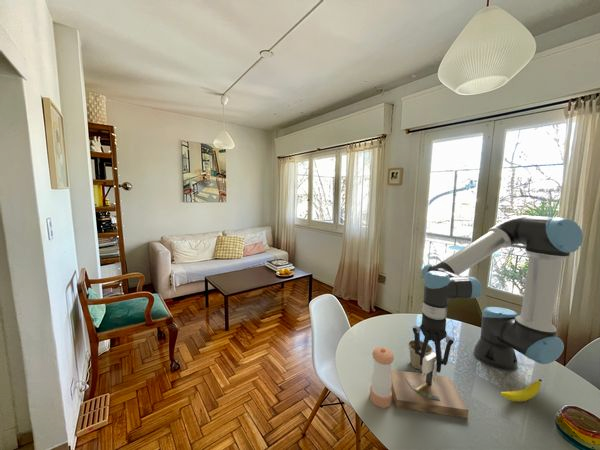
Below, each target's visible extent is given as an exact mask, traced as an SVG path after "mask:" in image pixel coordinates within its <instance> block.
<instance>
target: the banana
mask: <svg viewBox="0 0 600 450" xmlns="http://www.w3.org/2000/svg"><path fill="white" fill-rule="evenodd" d="M542 381H543V380H542V379H541V378H539V379H538V380H537V381H534V382H531V384H529V386H527V387H526V388H523V389H519V390H512V391H500V394H501V396H502V397H503V398H504V399H506V400H509V401H512V402H517V403H518V402H520V403H521V402H526V401H529V400H531V399H533V398H534V397H535V396H536V395H537V394H538V393H539V392H540V389H541V386H542V383H541V382H542Z"/></svg>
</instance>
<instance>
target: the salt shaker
mask: <svg viewBox="0 0 600 450" xmlns="http://www.w3.org/2000/svg"><path fill="white" fill-rule="evenodd" d="M372 358H373V360H374V363H373V370H372V371H373V372H372V375H371V384H370V387H369V391H370V392H369V400H370V401H371V403H372V404H373V405H375V406H376V407H379V408H382V409H386V408H389V407H390V406H392V403H393V402H392V401H393V399H392V398H393V392H392V388H391V385H392V382H391V370H392V364H393V362H394V359H395V357H394V354H393V352H392V351H391V350H390V349H388V348H387V347H382V346H379V347H375V348H374V349H373V351H372Z"/></svg>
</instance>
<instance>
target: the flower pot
mask: <svg viewBox="0 0 600 450" xmlns="http://www.w3.org/2000/svg"><path fill="white" fill-rule="evenodd" d="M423 342H424V340H420V350H422V346H423ZM407 346H408V349H409V357H410V360H409V361H410V364H411V366H412V367H413V368H415V369H417V370H421V371H422V366H421V365H420V356H419V355H418V354H415V339H411V340H409V341H408V342H407ZM433 349H434V348H433V347H432V346H431V344H429V343H428V346H427V350H426V354H425V356H427V355H429V354H431V353H433V352H434V351H433Z"/></svg>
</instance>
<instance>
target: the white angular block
mask: <svg viewBox="0 0 600 450" xmlns="http://www.w3.org/2000/svg"><path fill="white" fill-rule="evenodd" d="M435 361H436V351H432V352H431V354H429V355H427V356H426V357H424V358H423V363H422V370H421V372H422V371H423V372H424V373H426V382H425V383H424V384H422V385H421V386H419V387H418V388H416V391H419V390H420V389H422V388H423V387H425V386H426V385H428V386H431V385H432V376H433V372H434V363H435Z"/></svg>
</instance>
